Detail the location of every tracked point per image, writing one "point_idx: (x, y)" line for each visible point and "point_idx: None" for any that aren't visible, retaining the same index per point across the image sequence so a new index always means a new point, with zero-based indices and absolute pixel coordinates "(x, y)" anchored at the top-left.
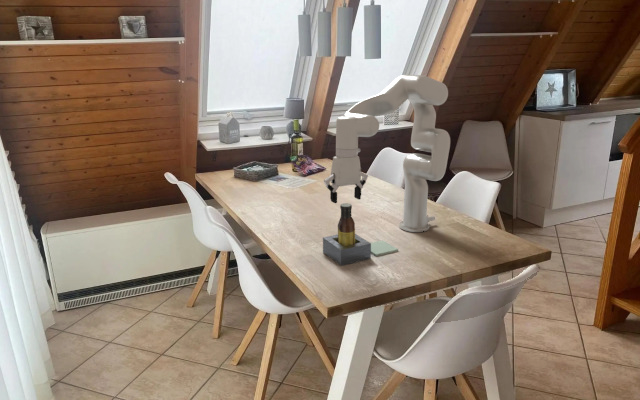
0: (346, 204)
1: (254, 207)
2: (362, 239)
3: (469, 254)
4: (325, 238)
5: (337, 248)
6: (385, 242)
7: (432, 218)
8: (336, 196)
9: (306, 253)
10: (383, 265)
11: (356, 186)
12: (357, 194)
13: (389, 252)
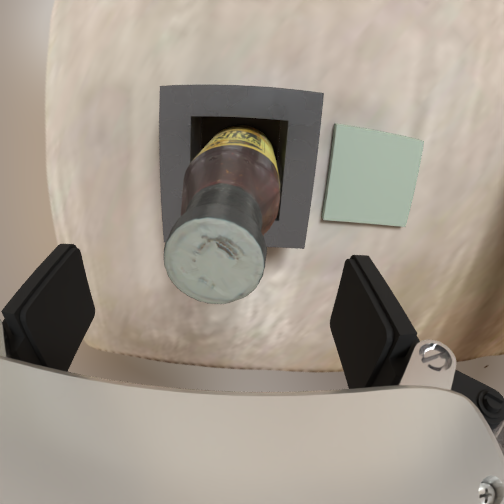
0: (220, 262)
1: None
2: (303, 199)
3: (473, 317)
4: (164, 101)
5: (163, 214)
6: (417, 161)
7: None
8: (67, 357)
9: (122, 69)
10: (294, 276)
11: (389, 378)
12: (346, 336)
13: (373, 222)
